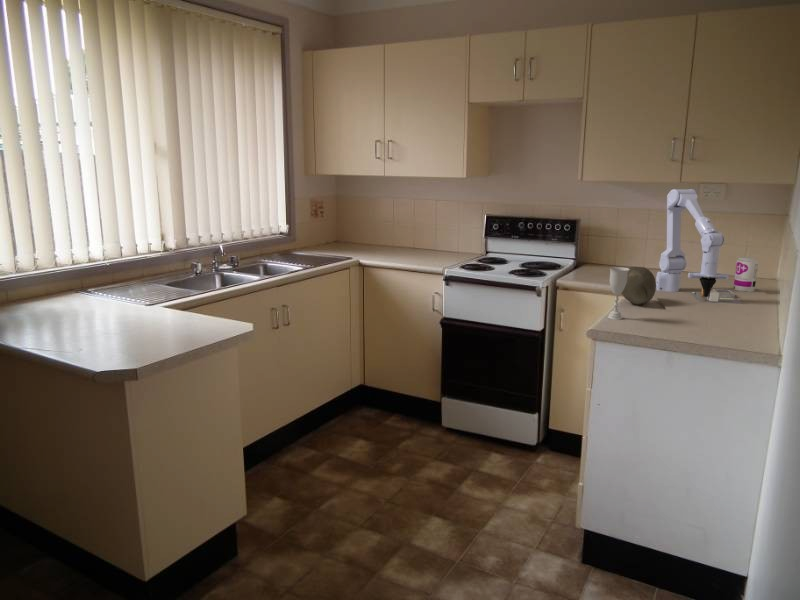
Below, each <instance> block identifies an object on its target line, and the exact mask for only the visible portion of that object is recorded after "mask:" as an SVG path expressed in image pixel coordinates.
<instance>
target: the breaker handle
mask: <svg viewBox="0 0 800 600" xmlns="http://www.w3.org/2000/svg"><path fill="white" fill-rule="evenodd" d="M718 297H719V293H718V292H717V291H712V290H711V291H710V293H709V295H708V297H707V299H708V300H709V301H714V302H718Z"/></svg>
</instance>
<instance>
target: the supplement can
mask: <svg viewBox="0 0 800 600" xmlns="http://www.w3.org/2000/svg"><path fill="white" fill-rule="evenodd" d="M735 265H736V266H735V273H734V280H733V287H732V289H733V290H734V291H738V292H743V293H746V292H747V293H753V292H755V289H756V283H757V274H758V268H759V261H758V258H756V257H750V256H739V257H738V259H736V264H735Z"/></svg>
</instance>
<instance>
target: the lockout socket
mask: <svg viewBox="0 0 800 600" xmlns="http://www.w3.org/2000/svg"><path fill="white" fill-rule="evenodd" d="M711 291H717V292H718V293H719V297H720V298H734V297H735V292H733V291H732V290H730V289H714V288H713V289H712V290H711Z"/></svg>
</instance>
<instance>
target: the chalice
mask: <svg viewBox="0 0 800 600" xmlns="http://www.w3.org/2000/svg"><path fill="white" fill-rule="evenodd" d="M628 268H629V267H622V266H621V267H620V266H618V267H617V266H612V267H609V268H608V269H609V271H610V273H609V285H610V289H611V291H612V294H614V295H615V298H614V303H613V306H614V308H613V310H612V311H610V312H609V314H608V316H607V318H608V319H609V318H610V320H616V321H617V320H620V321H621V320H623V317H622V313H621V311H619V310H618V307H619V303H618V302H619V295H622V294H621V293H622V291H623V290H624V288H625V286H626V284H627V275H628V271H629V269H628Z"/></svg>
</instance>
